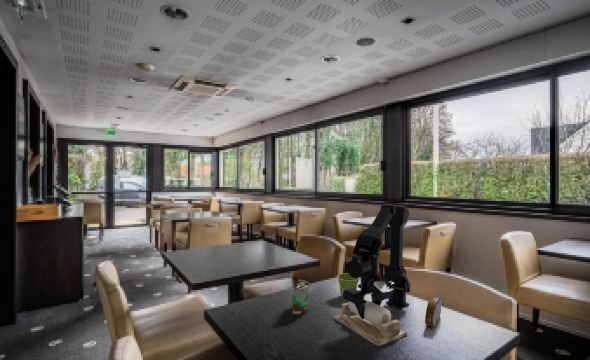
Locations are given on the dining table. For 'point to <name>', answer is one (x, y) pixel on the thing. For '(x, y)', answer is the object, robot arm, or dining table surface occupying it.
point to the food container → (301, 298)
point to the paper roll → (373, 313)
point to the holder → (370, 327)
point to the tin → (433, 311)
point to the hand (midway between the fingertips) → (368, 316)
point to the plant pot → (347, 282)
